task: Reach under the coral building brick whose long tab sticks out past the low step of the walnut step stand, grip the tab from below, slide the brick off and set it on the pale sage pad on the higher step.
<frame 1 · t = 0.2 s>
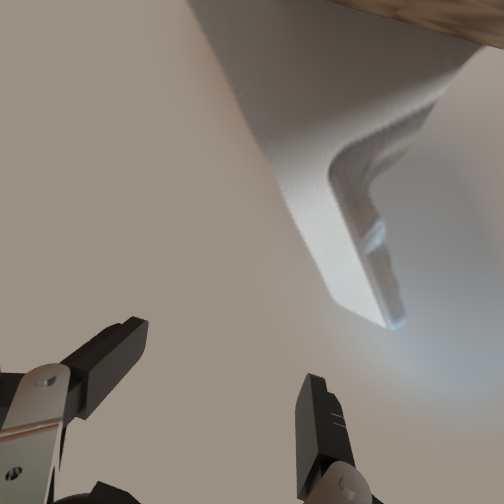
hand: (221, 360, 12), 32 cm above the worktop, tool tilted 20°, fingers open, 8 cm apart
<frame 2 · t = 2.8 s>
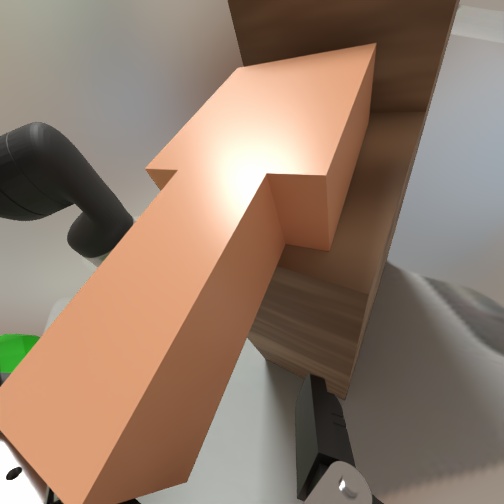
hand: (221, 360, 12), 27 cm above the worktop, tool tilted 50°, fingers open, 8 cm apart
coral tab brick: (281, 173, 15), point 30 cm above the worktop, touching walnut step stand
plastic bottle: (108, 400, 40), on the worktop
walnut step stand: (330, 302, 40), on the worktop
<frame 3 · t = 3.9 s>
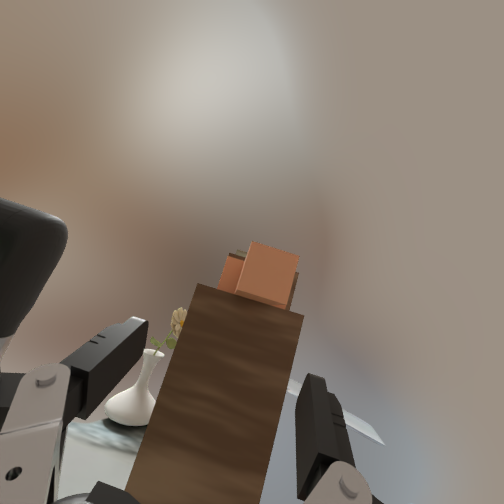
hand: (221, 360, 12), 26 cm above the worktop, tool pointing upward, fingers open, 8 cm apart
coral tab brick: (247, 300, 32), point 30 cm above the worktop, touching walnut step stand
flower in vase: (132, 418, 54), on the worktop
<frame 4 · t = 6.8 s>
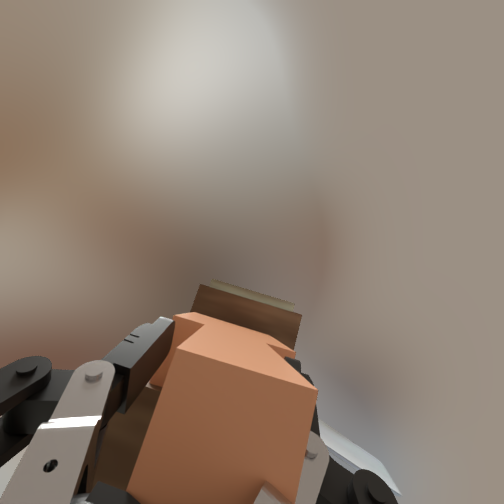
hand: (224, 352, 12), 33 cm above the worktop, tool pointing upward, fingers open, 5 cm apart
coral tab brick: (217, 378, 19), point 30 cm above the worktop, touching gripper, walnut step stand
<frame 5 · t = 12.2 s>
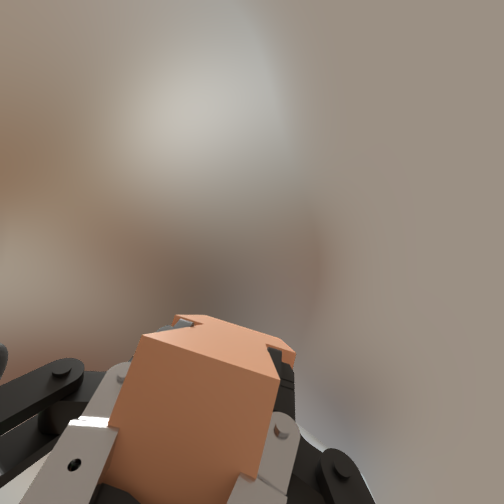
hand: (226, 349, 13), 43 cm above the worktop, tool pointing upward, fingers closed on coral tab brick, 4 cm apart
coral tab brick: (223, 380, 19), point 40 cm above the worktop, touching gripper
when the fingers open (42 cm above the worktop, at t = 17.1 s): coral tab brick stays where it is, resting on walnut step stand.
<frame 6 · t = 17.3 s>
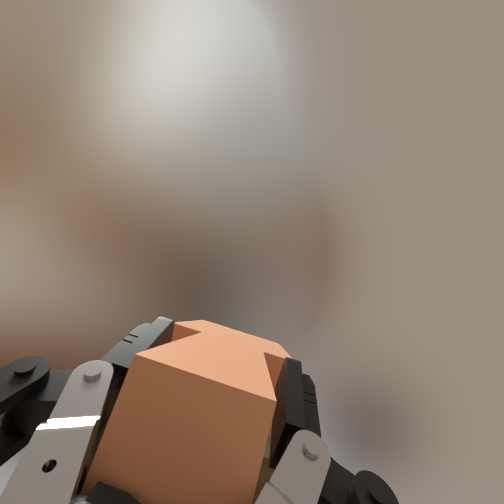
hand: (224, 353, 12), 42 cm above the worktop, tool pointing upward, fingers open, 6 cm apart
coral tab brick: (222, 387, 19), point 38 cm above the worktop, touching walnut step stand
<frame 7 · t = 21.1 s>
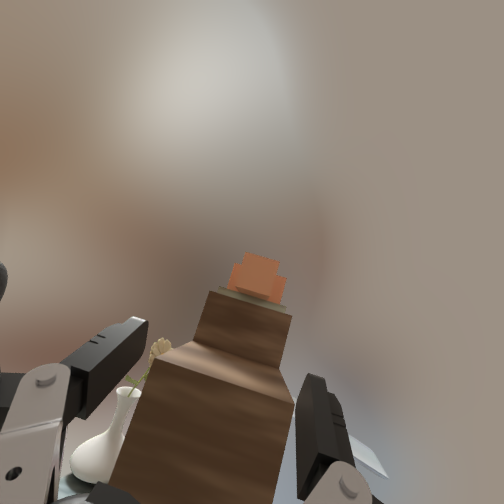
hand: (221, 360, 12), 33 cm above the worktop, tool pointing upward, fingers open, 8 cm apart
coral tab brick: (253, 298, 40), point 38 cm above the worktop, touching walnut step stand
flower in vase: (104, 469, 47), on the worktop
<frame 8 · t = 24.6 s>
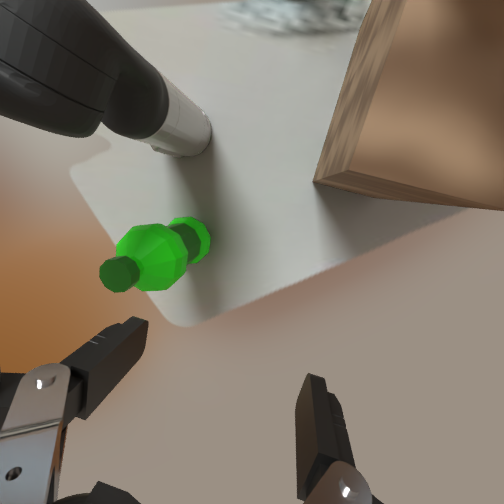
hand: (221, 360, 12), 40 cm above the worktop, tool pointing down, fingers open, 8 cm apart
plastic bottle: (194, 237, 53), on the worktop
walnut step stand: (368, 118, 43), on the worktop
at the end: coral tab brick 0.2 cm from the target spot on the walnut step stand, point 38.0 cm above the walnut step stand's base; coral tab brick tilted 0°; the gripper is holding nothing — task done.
